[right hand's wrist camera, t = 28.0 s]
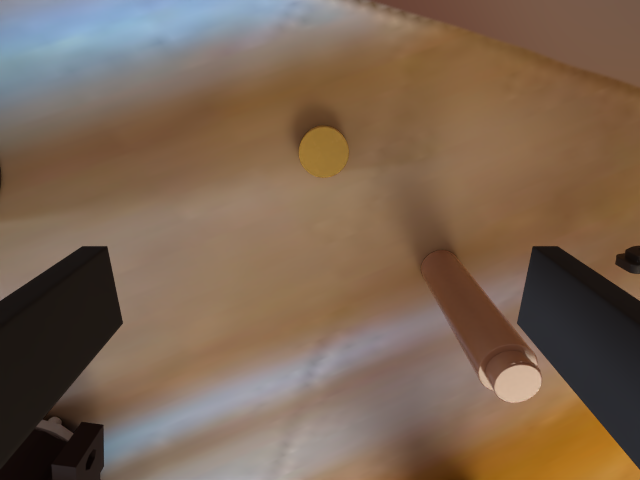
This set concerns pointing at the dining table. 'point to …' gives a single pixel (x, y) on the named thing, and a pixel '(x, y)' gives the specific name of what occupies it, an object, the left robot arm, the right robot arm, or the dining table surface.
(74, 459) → the mechanical component
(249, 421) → the dining table surface
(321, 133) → the lid
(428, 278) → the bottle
